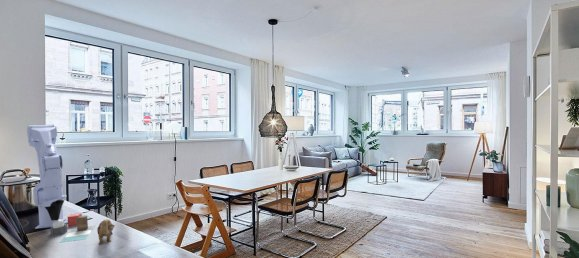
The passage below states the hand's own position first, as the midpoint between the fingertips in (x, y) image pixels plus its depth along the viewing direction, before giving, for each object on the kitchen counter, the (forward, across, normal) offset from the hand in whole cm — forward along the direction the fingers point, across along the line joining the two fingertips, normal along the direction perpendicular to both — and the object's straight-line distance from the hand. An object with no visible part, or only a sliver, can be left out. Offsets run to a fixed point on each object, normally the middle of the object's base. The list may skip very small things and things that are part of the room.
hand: (55, 219), depth 120 cm
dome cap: (+4, 0, -1) cm, 4 cm away
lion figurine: (+6, -15, -21) cm, 26 cm away
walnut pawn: (+5, +1, -9) cm, 10 cm away
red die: (+6, +10, -4) cm, 12 cm away
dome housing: (+6, 0, -1) cm, 6 cm away
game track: (+6, -4, -9) cm, 11 cm away
